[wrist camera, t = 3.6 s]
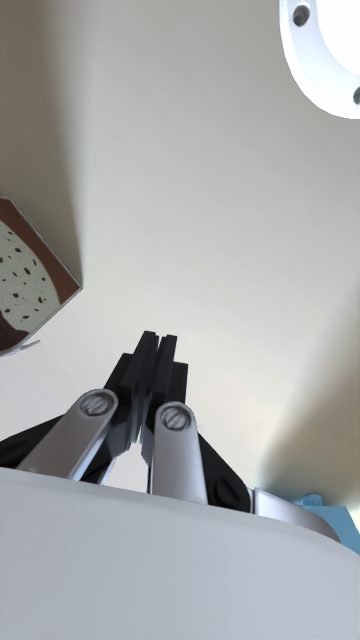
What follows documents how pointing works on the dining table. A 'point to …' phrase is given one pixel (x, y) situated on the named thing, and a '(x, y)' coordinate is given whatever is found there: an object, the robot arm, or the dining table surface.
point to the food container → (28, 280)
